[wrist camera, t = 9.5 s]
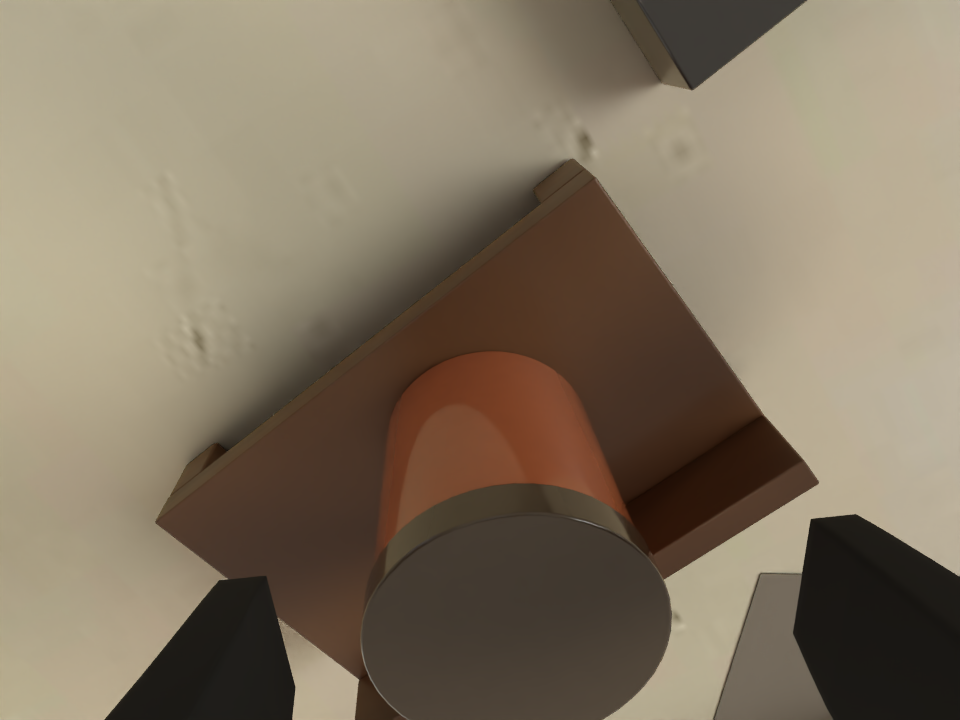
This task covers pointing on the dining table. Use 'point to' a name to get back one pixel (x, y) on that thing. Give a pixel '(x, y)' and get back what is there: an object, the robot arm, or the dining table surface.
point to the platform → (771, 661)
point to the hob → (698, 33)
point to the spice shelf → (515, 329)
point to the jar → (506, 555)
